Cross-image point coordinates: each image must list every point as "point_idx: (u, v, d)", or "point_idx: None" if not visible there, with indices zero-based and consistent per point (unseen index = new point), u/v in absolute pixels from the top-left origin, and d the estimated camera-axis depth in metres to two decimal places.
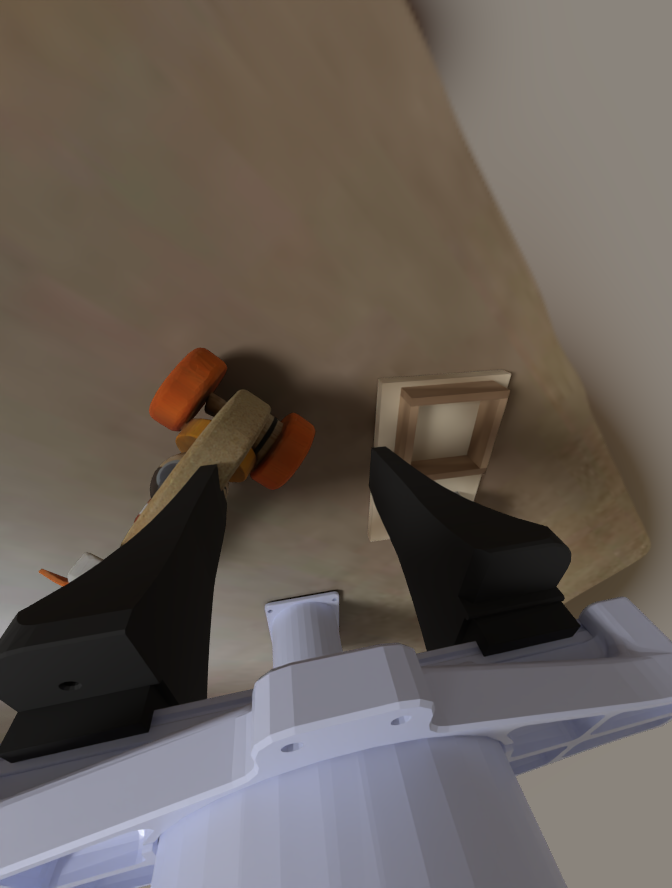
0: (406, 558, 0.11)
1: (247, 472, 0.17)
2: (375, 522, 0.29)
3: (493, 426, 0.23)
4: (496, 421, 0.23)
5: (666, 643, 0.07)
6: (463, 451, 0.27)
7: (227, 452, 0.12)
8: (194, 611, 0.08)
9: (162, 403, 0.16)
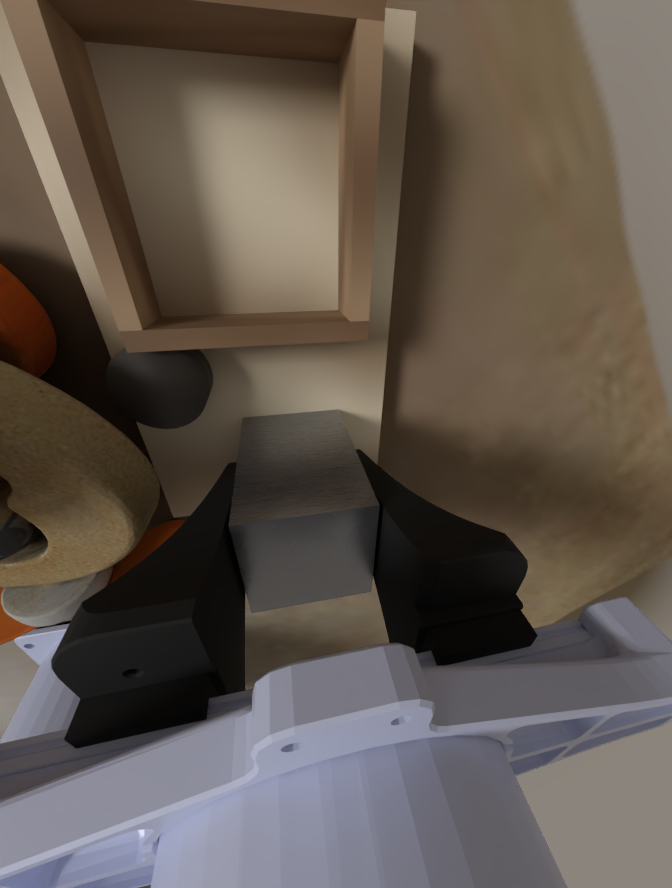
0: (375, 563, 0.10)
1: None
2: (166, 476, 0.14)
3: (358, 160, 0.08)
4: (363, 137, 0.08)
5: (666, 643, 0.07)
6: (327, 298, 0.11)
7: (152, 490, 0.10)
8: (234, 604, 0.09)
9: None
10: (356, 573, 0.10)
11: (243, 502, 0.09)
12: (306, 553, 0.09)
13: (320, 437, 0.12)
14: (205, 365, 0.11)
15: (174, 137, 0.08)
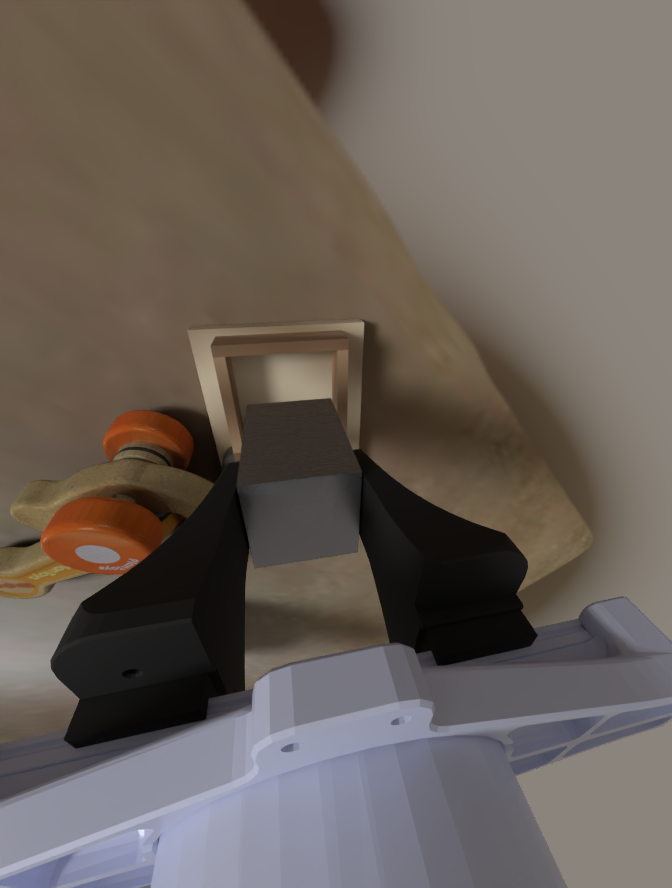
0: (375, 563, 0.10)
1: None
2: None
3: (339, 388, 0.19)
4: (341, 381, 0.18)
5: (666, 643, 0.07)
6: None
7: None
8: (233, 604, 0.09)
9: None
10: (344, 534, 0.12)
11: (248, 469, 0.10)
12: (301, 513, 0.11)
13: (314, 420, 0.13)
14: None
15: (259, 371, 0.19)
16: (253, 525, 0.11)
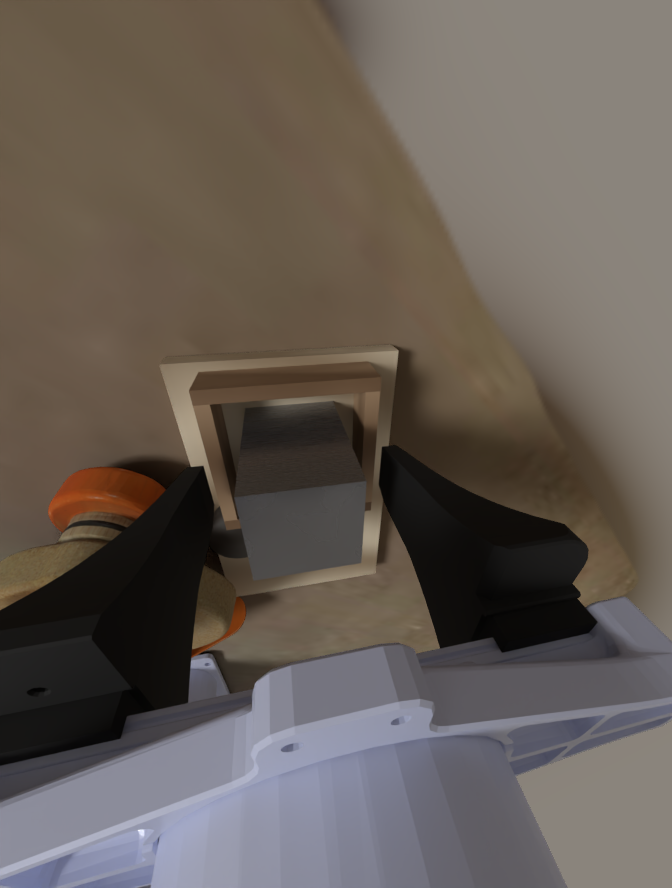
0: (418, 556, 0.11)
1: None
2: (230, 574, 0.20)
3: (366, 439, 0.14)
4: (369, 430, 0.14)
5: (666, 643, 0.07)
6: None
7: (234, 603, 0.17)
8: (175, 614, 0.08)
9: None
10: (347, 545, 0.11)
11: (246, 478, 0.10)
12: (302, 525, 0.10)
13: (315, 425, 0.13)
14: None
15: None
16: (252, 537, 0.10)
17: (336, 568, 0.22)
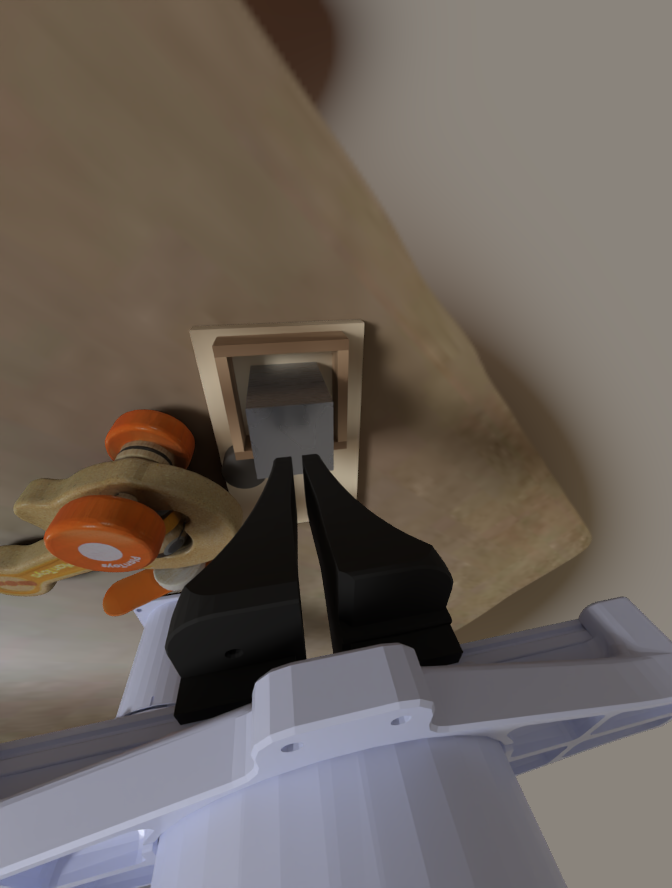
0: (322, 572, 0.10)
1: None
2: None
3: (339, 388, 0.19)
4: (341, 381, 0.19)
5: (666, 643, 0.07)
6: None
7: (241, 520, 0.21)
8: (299, 593, 0.09)
9: None
10: (322, 453, 0.16)
11: (253, 400, 0.15)
12: (291, 434, 0.15)
13: (302, 374, 0.18)
14: None
15: None
16: (256, 441, 0.15)
17: None
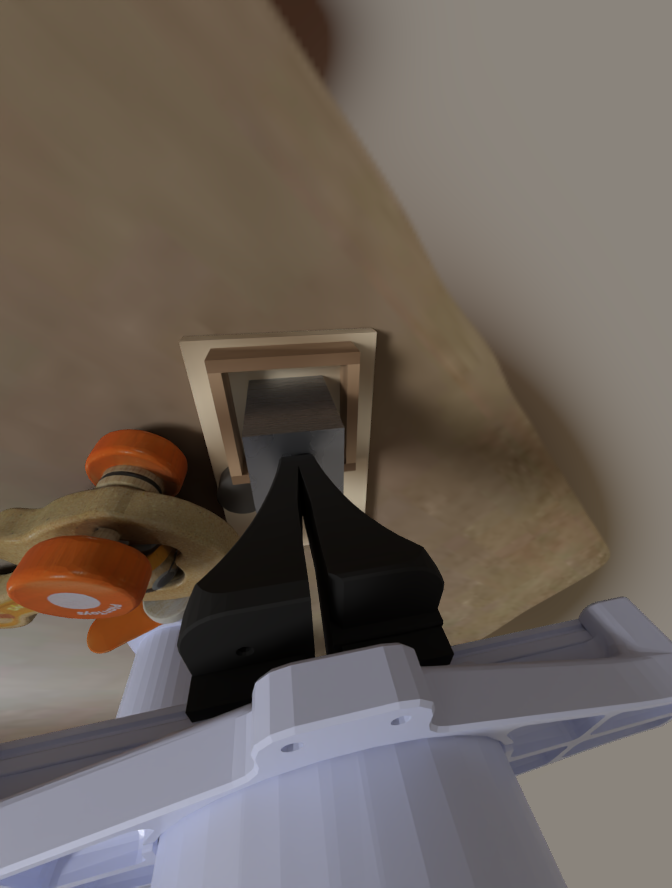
0: (316, 573, 0.10)
1: None
2: None
3: (349, 405, 0.17)
4: (351, 398, 0.16)
5: (666, 643, 0.07)
6: None
7: None
8: None
9: None
10: None
11: (251, 426, 0.13)
12: None
13: (307, 391, 0.16)
14: None
15: None
16: (255, 473, 0.13)
17: None
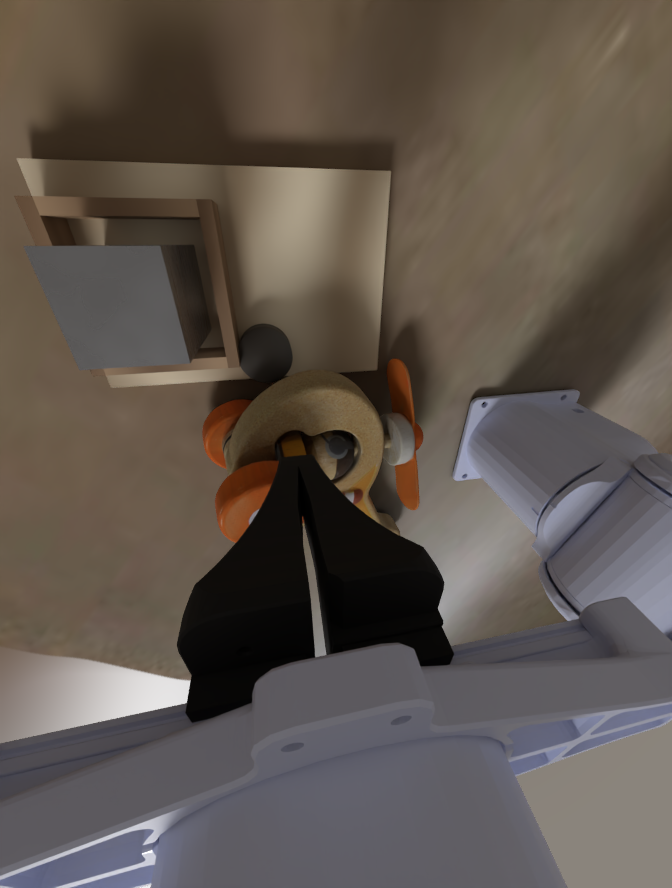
0: (316, 573, 0.10)
1: None
2: (340, 367, 0.20)
3: (100, 212, 0.13)
4: (87, 208, 0.13)
5: (666, 643, 0.07)
6: (199, 229, 0.15)
7: (320, 373, 0.17)
8: None
9: None
10: (129, 266, 0.11)
11: None
12: (103, 314, 0.11)
13: None
14: (254, 327, 0.17)
15: None
16: (127, 360, 0.12)
17: (362, 240, 0.17)
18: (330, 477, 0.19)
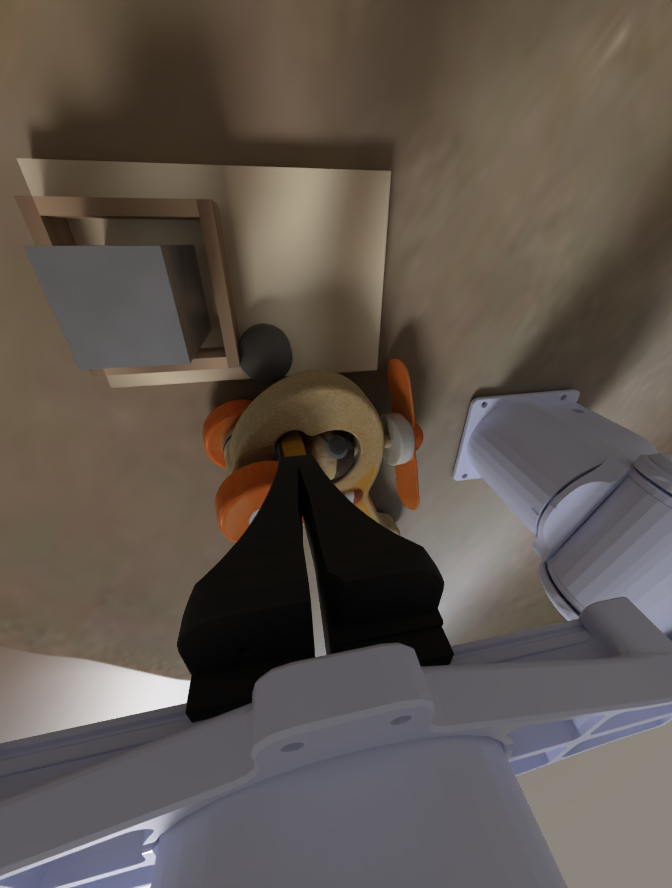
0: (316, 573, 0.10)
1: None
2: (340, 367, 0.20)
3: (100, 212, 0.13)
4: (87, 208, 0.13)
5: (666, 643, 0.07)
6: (199, 229, 0.15)
7: (320, 373, 0.17)
8: None
9: None
10: (129, 266, 0.11)
11: None
12: (103, 314, 0.11)
13: None
14: (254, 327, 0.17)
15: None
16: (127, 360, 0.12)
17: (362, 240, 0.17)
18: (330, 477, 0.19)
